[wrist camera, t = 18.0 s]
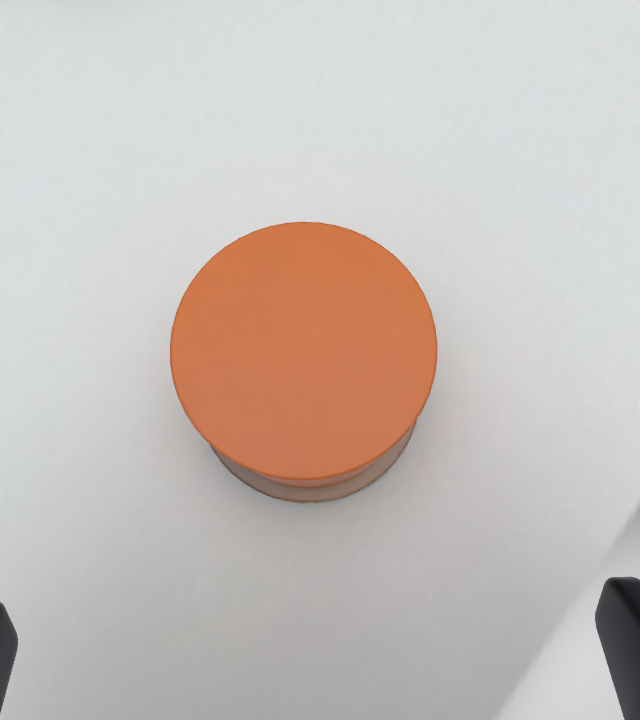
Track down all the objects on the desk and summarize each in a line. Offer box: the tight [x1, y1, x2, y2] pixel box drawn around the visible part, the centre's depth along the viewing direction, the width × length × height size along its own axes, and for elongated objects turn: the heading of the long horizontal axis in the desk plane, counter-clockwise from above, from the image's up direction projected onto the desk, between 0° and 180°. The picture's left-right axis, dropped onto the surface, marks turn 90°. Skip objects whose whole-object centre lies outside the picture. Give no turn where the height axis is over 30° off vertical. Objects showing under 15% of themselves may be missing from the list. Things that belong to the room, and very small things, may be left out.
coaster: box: [210, 420, 417, 503], centre depth 19 cm, size 7×7×1 cm
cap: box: [170, 222, 437, 487], centre depth 16 cm, size 6×6×5 cm
